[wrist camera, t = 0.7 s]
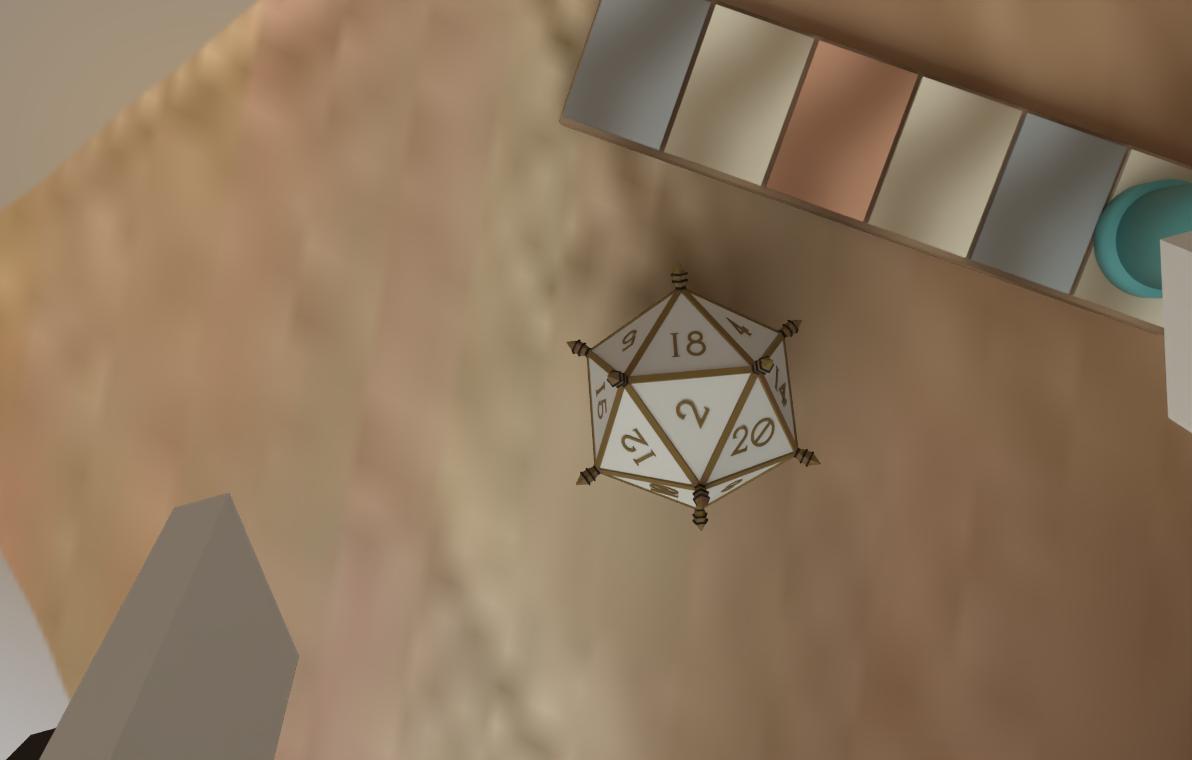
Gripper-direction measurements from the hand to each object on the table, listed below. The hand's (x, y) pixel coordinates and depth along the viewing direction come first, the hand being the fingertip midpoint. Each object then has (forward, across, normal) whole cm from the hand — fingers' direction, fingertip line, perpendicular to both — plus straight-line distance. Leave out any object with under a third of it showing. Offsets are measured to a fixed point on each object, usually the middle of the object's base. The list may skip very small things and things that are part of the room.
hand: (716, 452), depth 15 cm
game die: (+26, -2, +10) cm, 28 cm away
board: (+27, -12, +3) cm, 29 cm away
